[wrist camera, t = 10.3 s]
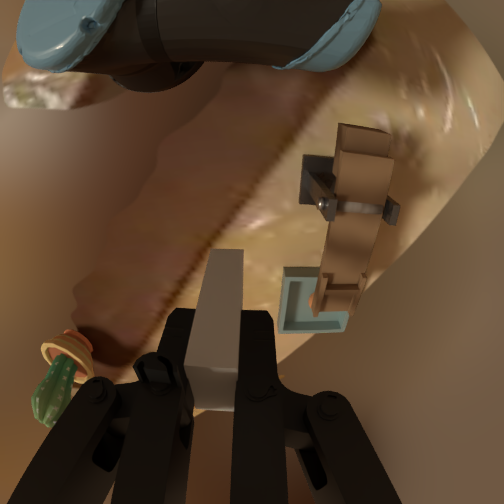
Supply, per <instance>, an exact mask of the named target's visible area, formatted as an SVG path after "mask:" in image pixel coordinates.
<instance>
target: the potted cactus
mask: <svg viewBox="0 0 504 504" xmlns="http://www.w3.org/2000/svg"><path fill="white" fill-rule="evenodd" d="M41 351H42V354H43V356H44V358H45V360H46V361H47V362H48V363H49V364H50V365H51V366H50V368H49V371H48V373H47V375H46V377H45V379H44V380H43V381H42V382H41V383H40V384H39V385H38V386H37V388H36V390H35V392H34V393H33V395H32V398H31V400H32V408H33V412H34V416H35V419H38V420H39V422H40V423H44V424H45V425H46V426H47V427H51V428H52V427H53V426H54V425H55V423H56V422H57V420H58V419H59V417H60V416H61V414H62V413H63V411H64V410H65V409H66V407H67V406H68V404H69V403H70V401H71V389H72V385H73V381H75V382H77V383H82V384H84V383H85V382H86V381H87V380H88V379H91V378H93V377H94V372H93V361H92V356H91V352H92V351H93V348H92V344H91V343H90V342H89V340H88V339H87V338H86V337H84V336H83V335H82V334H81V333H79V332H77V331H74V330H65V332H64V334H60V335H57V336H55V337H54V338H52V339H51V340H46V341H45V342H44V343H43V345H42V347H41Z"/></svg>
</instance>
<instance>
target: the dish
mask: <svg viewBox="0 0 504 504" xmlns="http://www.w3.org/2000/svg"><path fill="white" fill-rule="evenodd" d="M319 270H320V268H311V267H284V268H283V277H282V286H281V295H280V304H279V312H278V320H277V326H278V334H291V333H330V332H344V330H345V327H346V324H347V321H348V318H349V314H348V311H334V312H319V314H318V317H313V312H312V309H311V308H310V306H309V303H308V300H309V297H310V295H311V294H312V293H314V292H315V288H316V283H317V279H318V274H319Z"/></svg>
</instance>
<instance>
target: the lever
mask: <svg viewBox="0 0 504 504" xmlns="http://www.w3.org/2000/svg"><path fill="white" fill-rule="evenodd" d="M390 140H391V135H390V134H388V133H386V132H384V131H382V130H379V129H374V128H368V127H363V126H357V125H350V124H344V123H338V131H337V140H336V148H335V156H334V164H333V171H332V173H333V174H334V175H335V176H336V184H335V190H334V196H335V197H336V198H337V199H338V201H337V208H336V214H335V221H334V222H333V221H329V225H328V230H327V236H326V241H325V246H324V251H323V256H322V261H321V265H320V270H319V274H318V279H317V283H316V288H315V292H314V296H313V301H312V305H311V309H312V312H313V317H318V314H319V312H334V311H348V314H349V316H353V315H354V312H355V309H356V307H357V305H358V302H359V299H360V297H361V294H362V291H363V288H364V286H365V283H366V280H367V277H366V274H365V272H366V269H367V266H368V263H369V260H370V256H371V253H372V250H373V247H374V243H375V240H376V236H377V233H378V229H379V226H380V222H381V218H382V214H383V210H384V206H385V202H386V198H387V194H388V190H389V185H390V181H391V176H392V171H393V166H394V161H395V160H394V159H393V158H391V157H388V152H389V146H390Z"/></svg>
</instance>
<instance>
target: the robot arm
mask: <svg viewBox="0 0 504 504" xmlns="http://www.w3.org/2000/svg"><path fill="white" fill-rule="evenodd" d="M381 7H382V4H381V2H380V1H379V0H26V1H25V3H24V5H23V8H22V11H21V13H20V17H19V21H18V25H17V35H16V40H17V47H18V51H19V53H20V54H21V55H22V56H23V60H24V62H25V63H26V64H28V65H29V66H31V67H33V68H36V69H42V70H48V71H50V72H52V73H63V72H66V71H68V72H84V73H96V74H106V75H109V76H110V78H111V79H112V80H113V81H114V82H116V83H117V84H118V85H120V86H121V87H123V88H126V89H128V90H131V91H137V92H148V93H152V92H160V91H164V90H168V89H171V88H173V87H175V86H177V85H179V84H181V83H183V82H184V81H186V80H187V79H189V78H190V77H191V76H192V75H193V74H194V73H195V72H197V70H198V69H199V68H200V67H201V66H202V64H203V63H204V61H218V62H239V63H252V64H262V65H271V66H272V67H273V68H275V69H279V70H284V69H291V68H292V69H300V70H307V71H313V72H325V71H330V70H333V69H337V68H339V67H340V66H342V65H344V64H345V63H346V62H348V61H349V60H350V59H351V58H352V57H353V56H354V55H355V54H356V53H357V52H358V51H359V49H360V48H361V47H362V46H363V44H364V43H365V41H366V40H367V38H368V37H369V35H370V33H371V31H372V30H373V28H374V26H375V24H376V21H377V19H378V17H379V14H380V11H381ZM243 254H244V250H240V249H211V251H210V255H209V259H208V263H207V267H206V271H205V275H204V279H203V283H202V287H201V291H200V295H199V299H198V303H197V307H196V309H188V308H176V309H175V310H174V311H173V312H172V313H171V314H170V315H169V316H168V318H167V321H166V324H165V329H164V331H163V334H162V337H161V340H160V343H159V346H158V350H157V352H150V353H147V354H145V355H142V356H141V357H140V358H139V359H137V360H136V362H135V363H134V365H133V368H134V370H135V373H136V375H137V377H138V379H139V381H136V382H132V383H125V384H116V385H114V384H113V382H112V381H110V380H109V379H108V378H105V377H101V376H100V377H93V378H91V379H88V380H87V381H86V382H85V383H84V384H83V385H82V386H81V387H80V389H79V390H78V391H77V393H76V394H75V396H74V397H73V398H72V400H71V401H70V403H69V404H68V406H67V407H66V409H65V410H64V411H63V413H62V414H61V416H60V417H59V419H58V420H57V422H56V423H55V425H54V426H53V428H52V429H51V431H50V432H49V434H48V435H47V437H46V439H45V440H44V442H43V443H42V445H41V447H40V448H39V449H38V451H37V453H36V454H35V456H34V457H33V459H32V461H31V462H30V464H29V466H28V467H27V469H26V471H25V473H24V474H23V476H22V478H21V479H20V481H19V483H18V485H17V486H16V488H15V490H14V492H13V493H12V495H11V497H10V499H9V501H8V503H7V504H103V502H104V500H105V499H106V496H107V495H108V493H109V491H110V489H111V487H112V485H113V483H114V481H115V484H114V489H113V494H112V499H111V504H185V500H186V491H187V481H188V470H189V463H190V454H191V445H192V437H193V429H194V417H193V408H194V404H195V408H196V409H205V410H219V411H234V422H233V423H234V424H233V443H232V466H231V490H230V504H288V488H287V471H286V454H285V446H286V447H291V448H294V449H295V452H296V454H297V457H298V459H299V462H300V465H301V467H302V470H303V473H304V475H305V478H306V480H307V483H308V485H309V488H310V491H311V493H312V496H313V498H314V501H315V503H316V504H402V503H401V501H400V499H399V497H398V495H397V493H396V491H395V489H394V487H393V485H392V483H391V481H390V479H389V477H388V475H387V473H386V471H385V469H384V467H383V465H382V463H381V461H380V460H379V458H378V456H377V454H376V452H375V450H374V448H373V446H372V444H371V442H370V440H369V439H368V437H367V435H366V433H365V431H364V430H363V427H362V425H361V423H360V421H359V420H358V418H357V416H356V414H355V412H354V411H353V408H352V407H351V404H350V403H349V401H348V400H347V399H346V398H345V397H344V396H342V395H341V394H339V393H338V392H332V391H323V392H320V393H317V394H316V395H313V397H312V396H308V395H303V394H299V393H296V392H293V391H291V390H289V389H287V388H286V387H285V386H284V385H283V384H282V383H281V381H280V380H279V378H278V373H277V361H276V348H275V335H274V323H273V319H272V317H271V316H270V314H269V313H268V311H265V310H242V306H243Z"/></svg>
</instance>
